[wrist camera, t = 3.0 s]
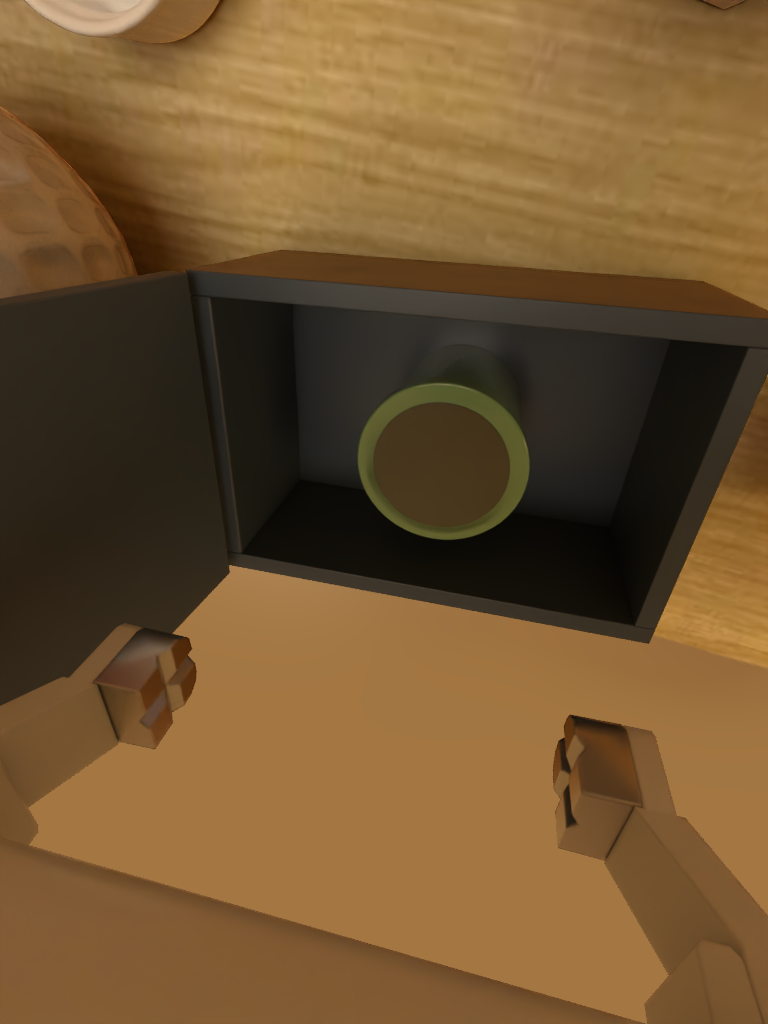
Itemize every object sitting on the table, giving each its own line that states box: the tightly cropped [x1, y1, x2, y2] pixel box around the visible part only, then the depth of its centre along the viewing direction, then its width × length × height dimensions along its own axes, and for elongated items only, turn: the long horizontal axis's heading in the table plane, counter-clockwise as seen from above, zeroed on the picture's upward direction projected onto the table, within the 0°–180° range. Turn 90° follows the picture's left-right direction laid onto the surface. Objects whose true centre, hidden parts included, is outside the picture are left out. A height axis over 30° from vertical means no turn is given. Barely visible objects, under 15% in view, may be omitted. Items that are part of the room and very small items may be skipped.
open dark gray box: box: [186, 250, 768, 644], centre depth 23 cm, size 19×13×8 cm
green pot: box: [357, 345, 530, 540], centre depth 23 cm, size 7×7×7 cm
